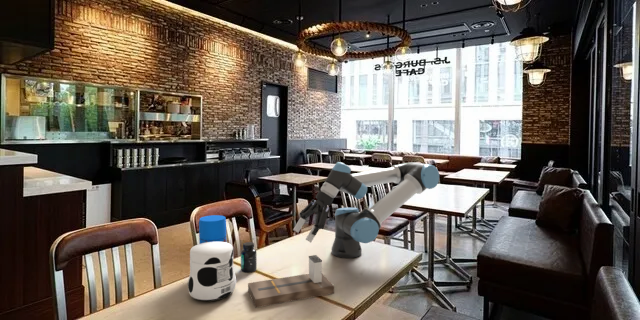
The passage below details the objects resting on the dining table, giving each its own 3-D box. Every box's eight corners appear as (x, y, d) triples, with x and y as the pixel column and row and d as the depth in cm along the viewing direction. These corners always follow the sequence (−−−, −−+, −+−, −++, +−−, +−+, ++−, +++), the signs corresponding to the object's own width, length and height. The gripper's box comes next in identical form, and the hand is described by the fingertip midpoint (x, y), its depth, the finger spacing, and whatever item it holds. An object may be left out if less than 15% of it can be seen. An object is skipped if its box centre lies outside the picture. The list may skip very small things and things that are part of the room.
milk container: (198, 283, 143) (197, 240, 141) (241, 284, 142) (240, 240, 141) (180, 305, 125) (178, 255, 124) (228, 306, 125) (227, 256, 123)
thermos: (219, 282, 144) (218, 222, 142) (195, 280, 146) (193, 220, 144) (231, 272, 155) (230, 215, 152) (208, 270, 157) (207, 214, 155)
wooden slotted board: (320, 278, 148) (320, 271, 148) (333, 293, 135) (334, 285, 135) (248, 290, 137) (248, 282, 137) (255, 307, 124) (255, 299, 124)
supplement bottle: (241, 274, 153) (240, 246, 152) (240, 268, 159) (240, 241, 158) (257, 272, 154) (257, 245, 153) (255, 266, 161) (255, 240, 160)
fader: (316, 275, 143) (316, 255, 142) (321, 281, 137) (322, 260, 136) (308, 276, 142) (308, 256, 141) (314, 283, 136) (314, 261, 135)
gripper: (308, 184, 167) (284, 224, 164) (334, 196, 145) (307, 241, 141) (320, 192, 170) (296, 231, 167) (347, 204, 148) (320, 249, 145)
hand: (301, 236), depth 154 cm, fingers open, 13 cm apart
